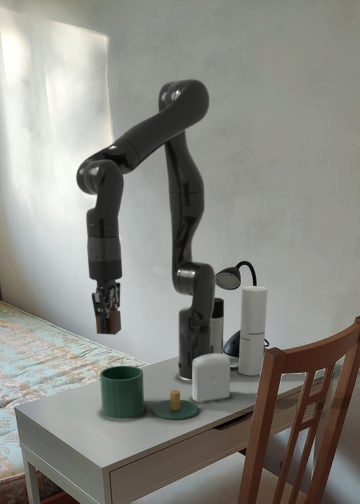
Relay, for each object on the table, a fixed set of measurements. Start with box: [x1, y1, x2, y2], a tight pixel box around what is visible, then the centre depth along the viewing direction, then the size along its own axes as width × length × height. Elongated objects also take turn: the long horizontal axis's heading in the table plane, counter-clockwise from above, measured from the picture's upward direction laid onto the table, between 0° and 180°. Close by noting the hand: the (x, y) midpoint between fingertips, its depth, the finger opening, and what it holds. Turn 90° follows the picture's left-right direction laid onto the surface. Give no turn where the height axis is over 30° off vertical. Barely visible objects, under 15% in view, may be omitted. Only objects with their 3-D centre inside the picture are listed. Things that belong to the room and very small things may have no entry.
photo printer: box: [191, 353, 231, 402], centre depth 139 cm, size 10×4×12 cm, turn 109°
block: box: [95, 310, 122, 336], centre depth 125 cm, size 5×5×5 cm
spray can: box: [211, 297, 225, 354], centre depth 165 cm, size 7×7×20 cm
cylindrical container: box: [238, 285, 268, 376], centre depth 156 cm, size 7×7×25 cm
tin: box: [99, 365, 145, 420], centre depth 132 cm, size 10×10×10 cm
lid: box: [152, 389, 199, 421], centre depth 132 cm, size 11×11×6 cm
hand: (109, 330), depth 126 cm, fingers closed on block, 4 cm apart
